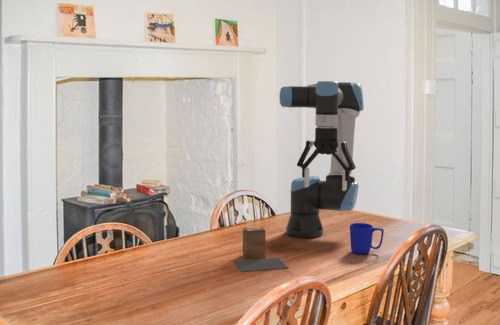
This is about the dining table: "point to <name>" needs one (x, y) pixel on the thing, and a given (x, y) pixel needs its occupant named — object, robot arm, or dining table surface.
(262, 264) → the mat
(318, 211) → the robot arm
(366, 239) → the mug
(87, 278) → the dining table surface
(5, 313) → the dining table surface
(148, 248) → the dining table surface
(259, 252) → the walnut block
